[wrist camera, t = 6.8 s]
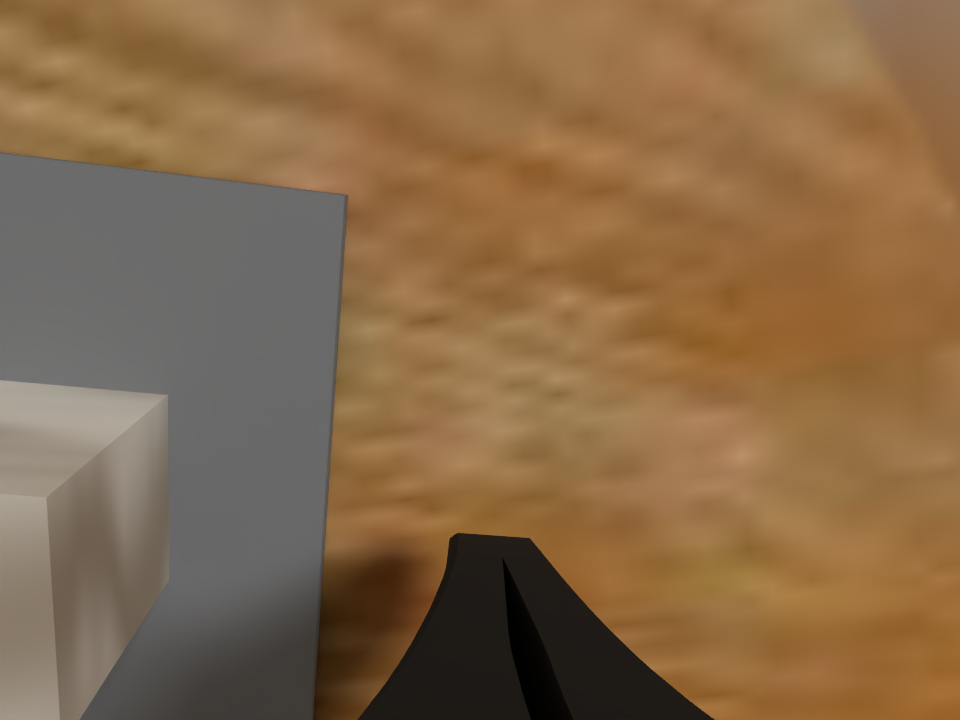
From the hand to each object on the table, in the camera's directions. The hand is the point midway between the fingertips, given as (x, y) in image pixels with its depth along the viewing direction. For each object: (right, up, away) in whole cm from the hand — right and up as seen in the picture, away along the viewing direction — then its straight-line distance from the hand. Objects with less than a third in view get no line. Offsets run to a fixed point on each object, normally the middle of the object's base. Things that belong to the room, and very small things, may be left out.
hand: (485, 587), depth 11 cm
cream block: (-8, +1, +2) cm, 8 cm away
